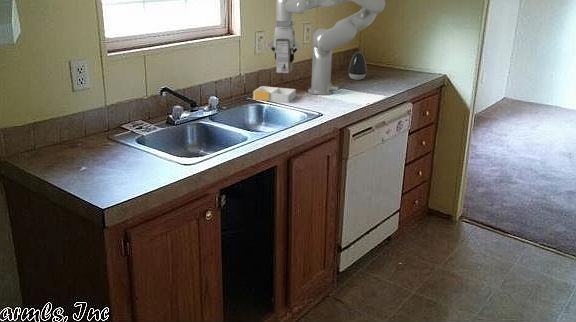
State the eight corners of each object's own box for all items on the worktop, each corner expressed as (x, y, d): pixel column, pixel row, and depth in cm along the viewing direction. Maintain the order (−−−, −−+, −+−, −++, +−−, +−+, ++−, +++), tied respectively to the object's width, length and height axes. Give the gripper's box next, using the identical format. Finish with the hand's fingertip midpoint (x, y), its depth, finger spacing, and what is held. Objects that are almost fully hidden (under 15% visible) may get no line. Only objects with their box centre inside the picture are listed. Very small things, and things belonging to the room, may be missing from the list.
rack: (295, 96, 264) (296, 88, 262) (288, 103, 252) (288, 93, 251) (261, 93, 268) (261, 84, 267) (252, 99, 257) (252, 90, 255)
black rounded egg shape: (369, 78, 307) (371, 51, 302) (361, 81, 299) (363, 54, 294) (352, 76, 312) (354, 49, 307) (344, 79, 304) (346, 52, 299)
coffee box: (280, 69, 273) (279, 36, 267) (292, 69, 272) (292, 37, 266) (276, 72, 265) (275, 39, 259) (288, 73, 264) (288, 39, 258)
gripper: (303, 24, 261) (303, 60, 268) (269, 22, 266) (270, 59, 272) (299, 25, 255) (299, 63, 261) (264, 24, 259) (265, 61, 266)
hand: (284, 61), depth 267 cm, fingers closed on coffee box, 6 cm apart
